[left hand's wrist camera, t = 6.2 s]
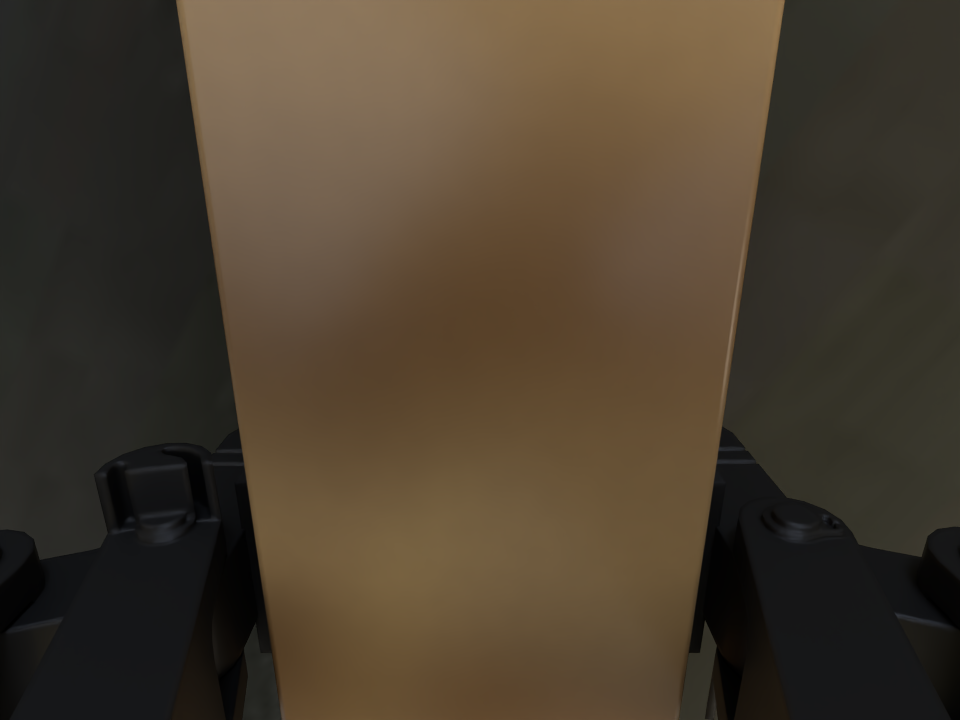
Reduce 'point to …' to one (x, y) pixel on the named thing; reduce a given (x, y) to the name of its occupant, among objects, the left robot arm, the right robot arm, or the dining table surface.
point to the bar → (480, 334)
